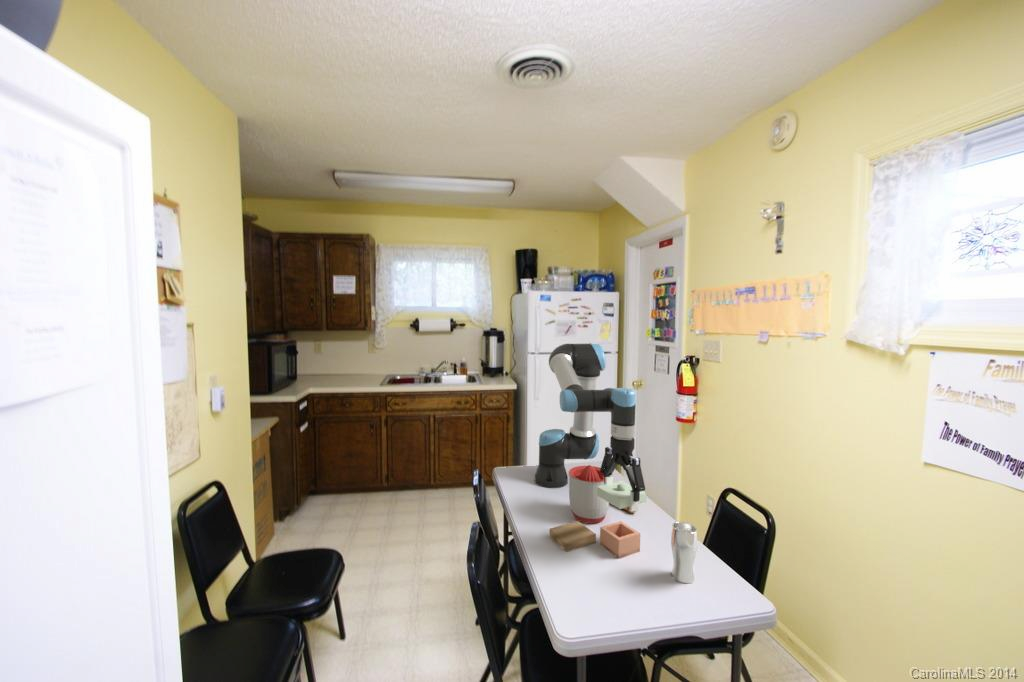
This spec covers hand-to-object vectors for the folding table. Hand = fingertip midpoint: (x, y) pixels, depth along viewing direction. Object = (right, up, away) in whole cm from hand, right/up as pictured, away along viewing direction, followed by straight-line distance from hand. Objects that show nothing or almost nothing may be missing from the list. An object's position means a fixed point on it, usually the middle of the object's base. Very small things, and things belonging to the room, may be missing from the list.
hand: (620, 502), depth 135 cm
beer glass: (+15, -16, -14) cm, 26 cm away
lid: (0, +1, 0) cm, 1 cm away
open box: (0, -15, +1) cm, 15 cm away
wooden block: (-15, -15, +6) cm, 22 cm away
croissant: (+9, -14, +34) cm, 38 cm away
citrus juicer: (-6, -14, +22) cm, 27 cm away
